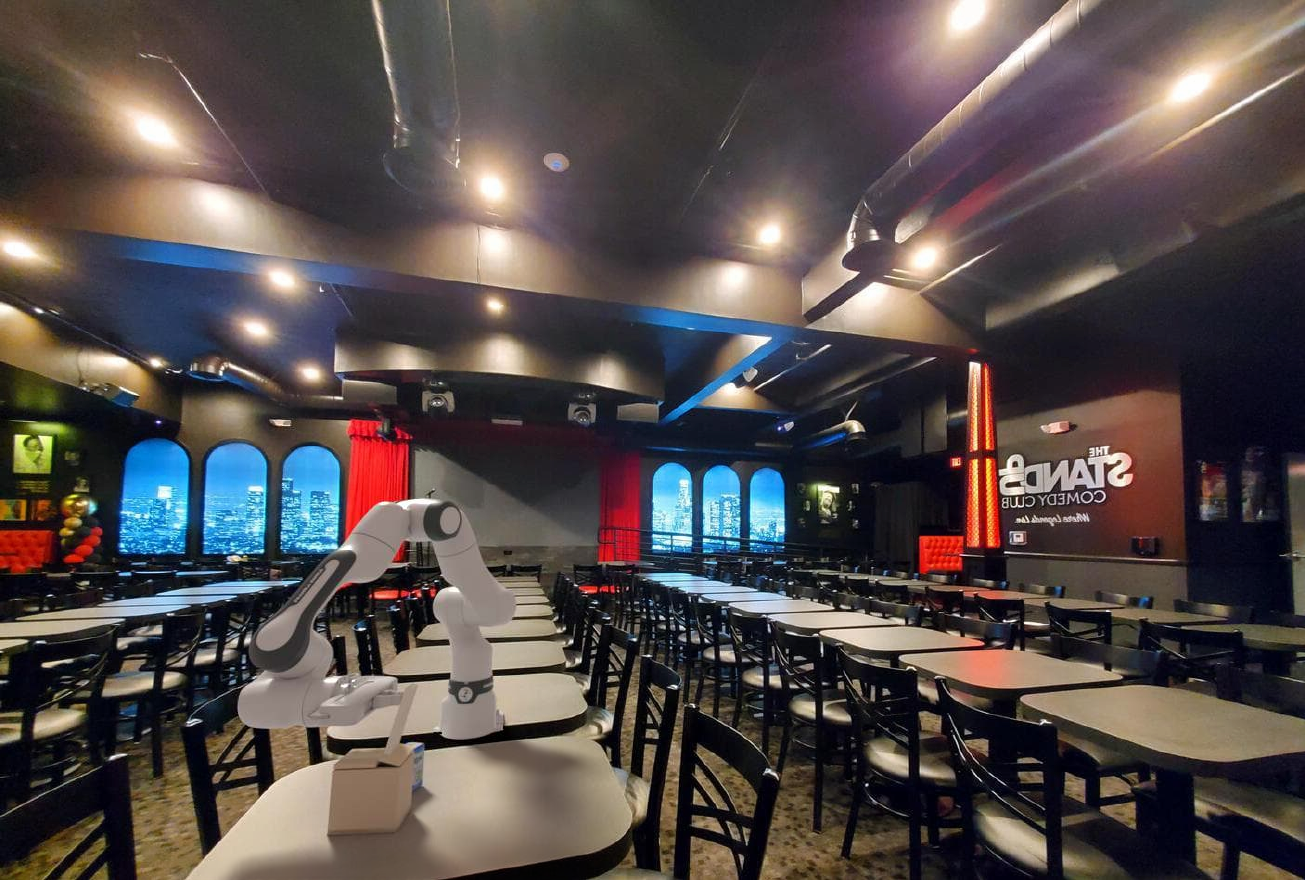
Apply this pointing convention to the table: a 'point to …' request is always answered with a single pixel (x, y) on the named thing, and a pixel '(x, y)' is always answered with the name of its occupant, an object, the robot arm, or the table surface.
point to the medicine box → (417, 764)
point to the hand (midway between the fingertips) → (403, 698)
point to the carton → (369, 793)
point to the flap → (399, 731)
